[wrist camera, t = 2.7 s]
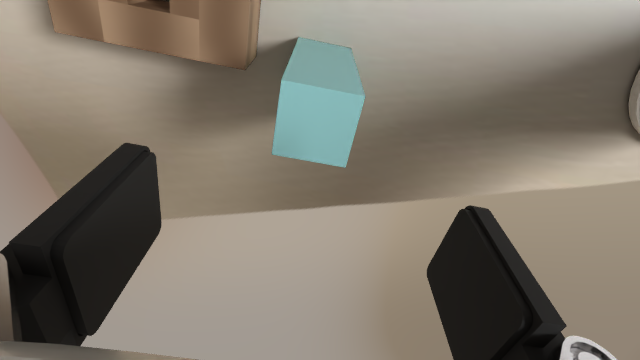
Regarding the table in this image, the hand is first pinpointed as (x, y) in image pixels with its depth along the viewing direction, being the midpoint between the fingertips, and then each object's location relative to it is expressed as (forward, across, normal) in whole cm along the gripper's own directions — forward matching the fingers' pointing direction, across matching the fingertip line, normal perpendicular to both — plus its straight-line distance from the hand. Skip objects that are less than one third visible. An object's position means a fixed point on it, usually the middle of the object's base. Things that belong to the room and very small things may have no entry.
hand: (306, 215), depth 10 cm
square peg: (+18, 0, 0) cm, 18 cm away
